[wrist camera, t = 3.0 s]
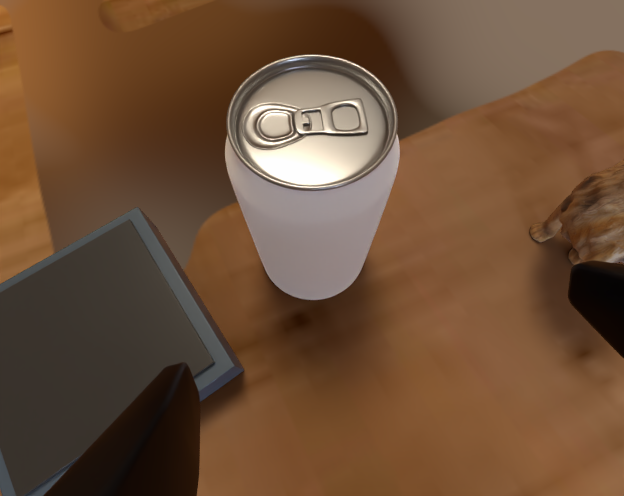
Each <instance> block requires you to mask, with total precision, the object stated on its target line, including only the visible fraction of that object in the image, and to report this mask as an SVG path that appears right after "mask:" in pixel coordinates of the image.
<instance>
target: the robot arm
mask: <svg viewBox="0 0 624 496" xmlns="http://www.w3.org/2000/svg"><path fill="white" fill-rule="evenodd" d="M568 298H569V301H570V303H571V304H572V306H573V307H574V308H575V309H576V310H577V311H578V312H579V313H580V314H581V315H582V316H583V317H584V318H585V319H586V320H587V321H588V322H589V323H590V324H591V326H592V327H593V328H594V329H595V330H596V331H597V332H598V333H599V334H600V335H601V336H602V337H603V338H604V339H605V340H606V341H607V342H608V343H609V344H610V345H611V346H612V347H613V348H614V349H615V350H616V351H617V352H618V353H619V354H620V355H621V356H622V357H623V358H624V264H617V263H609V262H602V261H595V260H591V261H586V262H582V263H578V264H575V265H574V266H573V267H572V269H571V273H570V282H569V290H568ZM199 458H200V395H199V391H198V388H197V386H196V383H195V381H194V378H193V375H192V373H191V370H190V368H189V366H188V365H187V363H185V362H181V363H177V364H173V365H169V366H167V367H165V368H164V369H163V370H162V371H161V372H160V373H159V374H158V375H157V376H156V377H155V378H154V379H153V381H152V382H151V383H150V384H149V385H148V386H147V387H146V388H145V389H144V390H143V391H142V392H141V393H140V394H139V395H138V396H137V397H136V398H135V400H134V401H133V402H132V403H131V404H130V405H129V406H128V407H127V408H126V409H125V410H124V411H123V412H122V413H121V414H120V415H119V416H118V417H117V418H116V420H115V421H114V422H113V423H112V424H111V425H110V426H109V427H108V428H107V429H106V430H105V431H104V432H103V433H102V434H101V435H100V436H99V437H98V439H97V440H96V441H95V442H94V443H93V444H92V445H91V446H90V447H89V448H88V449H87V450H86V451H85V452H84V453H83V454H82V455H81V456H80V457H79V459H78V460H77V461H76V462H75V463H74V464H73V465H72V466H71V467H70V468H69V469H68V470H67V471H66V472H65V473H64V474H63V475H62V476H61V477H60V479H59V480H58V481H57V482H56V483H55V484H54V485H53V486H52V487H51V488H50V489H49V490H48V491H47V492H46V493H45V494H44V495H43V496H197V488H198V478H199Z"/></svg>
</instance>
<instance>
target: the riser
mask: <svg viewBox="0 0 624 496" xmlns="http://www.w3.org/2000/svg"><path fill="white" fill-rule="evenodd" d="M181 362H185V363H187V365H188V366H189V368H190V370H191V373H192V375H193V378H194V381H195V383H196V386H197V388H198V391H199V395H200V402H201V401H202V400H204V399H205V398H207V397H208V396H209V395H211V394H212V393H213V392H215V391H216V390H218V389H219V388H220V387H222V386H223V385H225V384H226V383H227V382H229V381H230V380H231V379H233V378H234V377H236V376H237V375H238V374H240V373H241V372H242V371H244V368H243V367H242V365H241V363H240V362H239V360H238V359H237V357H236V355H235V354H234V352H233V350H232V349H231V347H230V346H229V344H228V342H227V341H226V339H225V337H224V336H223V334H222V333H221V331H220V329H219V328H218V326H217V324H216V323H215V321H214V320H213V318H212V316H211V315H210V313H209V312H208V310H207V308H206V307H205V305H204V303H203V302H202V300H201V299H200V297H199V295H198V294H197V292H196V290H195V289H194V287H193V286H192V284H191V282H190V281H189V279H188V277H187V276H186V274H185V273H184V271H183V269H182V268H181V266H180V265H179V263H178V261H177V260H176V258H175V257H174V255H173V253H172V252H171V250H170V248H169V247H168V245H167V243H166V242H165V240H164V239H163V237H162V235H161V234H160V232H159V231H158V229H157V227H156V226H155V225H154V224H153V223H152V222H151V221H150V220H149V218H148V217H147V216H146V215H145V214H144V213H143V212H142V211H141V210H140V209H139V208H138V207H136V208H134V209H133V210H131V211H129V212H127V213H126V214H124V215H122V216H120V217H119V218H117V219H115V220H113V221H111V222H110V223H108V224H106V225H104V226H102V227H101V228H99V229H97V230H95V231H94V232H92V233H90V234H88V235H87V236H85V237H83V238H81V239H79V240H78V241H76V242H74V243H72V244H71V245H69V246H67V247H65V248H63V249H62V250H60V251H58V252H56V253H55V254H53V255H51V256H49V257H47V258H46V259H44V260H42V261H40V262H39V263H37V264H35V265H33V266H31V267H30V268H28V269H26V270H24V271H23V272H21V273H19V274H17V275H16V276H14V277H12V278H10V279H8V280H7V281H5V282H3V283H1V284H0V489H1V493H2V496H43V495H44V494H45V493H46V492H47V491H48V490H49V489H50V488H51V487H52V486H53V485H54V484H55V483H56V482H57V481H58V480H59V479H60V477H61V476H62V475H63V474H64V473H65V472H66V471H67V470H68V469H69V468H70V467H71V466H72V465H73V464H74V463H75V462H76V461H77V460H78V459H79V457H80V456H81V455H82V454H83V453H84V452H85V451H86V450H87V449H88V448H89V447H90V446H91V445H92V444H93V443H94V442H95V441H96V440H97V439H98V437H99V436H100V435H101V434H102V433H103V432H104V431H105V430H106V429H107V428H108V427H109V426H110V425H111V424H112V423H113V422H114V421H115V420H116V418H117V417H118V416H119V415H120V414H121V413H122V412H123V411H124V410H125V409H126V408H127V407H128V406H129V405H130V404H131V403H132V402H133V401H134V400H135V398H136V397H137V396H138V395H139V394H140V393H141V392H142V391H143V390H144V389H145V388H146V387H147V386H148V385H149V384H150V383H151V382H152V381H153V379H154V378H155V377H156V376H157V375H158V374H159V373H160V372H161V371H162V370H163V369H164V368H165V367H167V366H169V365H173V364H177V363H181Z"/></svg>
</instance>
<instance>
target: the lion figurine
mask: <svg viewBox="0 0 624 496" xmlns="http://www.w3.org/2000/svg"><path fill="white" fill-rule="evenodd" d="M561 227H562V229H561V232H560V233H561V235H562V236H563V238H566V239H567V240H568V241H569V242H571V244H572V246H573V248H572V250H571V251H570V252H569V260H570V261H571V263H572V264H574V265H575V264H578V263H582V262H586V261H591V260H595V261H602V262H609V263H617V262H622V263H623V264H624V160H622V161H621V162H619V163H618V164H616V165H615V166H614V167H612V168H608V169H605V170H603V171H601V172H598V173H594V174H591V175H590V176H589V177H587V178H586V179H585V180H584V181H582V182H581V183H580V184H579V185H578V186H576V188H575V189H574V190H573V191H572V194H571V195H570V196H568V197H567V198H566V199H565V200H564V201H563V202H562V203H561V204H560V205H559V206H558V208H557V209H556V210H555V211H554V212H553V213H552V214H551V215H550V217H549V218H548V219H547V220H546V221H545V222H542V223H537V224H534V225H532V226H531V227H530V234H531V236H532V238H533V239H535V240H537V241H538V242H543V241H545V240H547V239H548V238H552V237H553V236H555V234H556V233H557V231H558V230H559V229H560V228H561Z"/></svg>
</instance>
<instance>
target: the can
mask: <svg viewBox="0 0 624 496" xmlns="http://www.w3.org/2000/svg"><path fill="white" fill-rule="evenodd" d="M226 127H227V134H228V135H227V139H226V147H225V159H226V165H227V170H228V174H229V177H230V180H231V183H232V186H233V189H234V192H235V194H236V197H237V200H238V202H239V205H240V207H241V210H242V213H243V215H244V218H245V220H246V223H247V226H248V228H249V231H250V233H251V236H252V238H253V241H254V244H255V246H256V249H257V251H258V254H259V256H260V259H261V261H262V264H263V266H264V268H265V270H266V273H267V274H268V276H269V278H270V279H271V280H272V282H273V283H274V284H275V285H276V286H277V287H278V288H280V289H281V290H282V291H284V292H285V293H287V294H289V295H291V296H294V297H297V298H300V299H306V300H320V299H326V298H329V297H332V296H335V295H337V294H339V293H341V292H342V291H344V290H345V289H347V288H348V287H349V286H350V285H351V284H352V283H353V282H354V281H355V279H356V278H357V276H358V275H359V273H360V271H361V269H362V267H363V264H364V262H365V259H366V257H367V254H368V251H369V249H370V246H371V243H372V241H373V238H374V235H375V233H376V230H377V227H378V225H379V222H380V219H381V216H382V214H383V211H384V208H385V205H386V203H387V200H388V197H389V194H390V191H391V189H392V186H393V183H394V180H395V176H396V173H397V169H398V164H399V156H400V148H399V140H398V136H397V129H398V115H397V110H396V106H395V103H394V101H393V98H392V96H391V94H390V93H389V91H388V90H387V88H386V87H385V86H384V84H383V83H382V82H381V81H380V80H379V79H378V78H377V77H376V76H375V75H373V74H372V73H371V72H369V71H368V70H366V69H365V68H363V67H361V66H360V65H357V64H355V63H353V62H351V61H348V60H345V59H342V58H338V57H334V56H328V55H317V54H316V55H315V54H309V55H297V56H291V57H287V58H284V59H280V60H277V61H275V62H272V63H270V64H267V65H266V66H264V67H262V68H260V69H259V70H257V71H256V72H254V73H253V74H252V75H250V76H249V77H248V78H247V79H246V80H245V81H244V82H243V83H242V84H241V85H240V86H239V88H238V89H237V91H236V92H235V94H234V96H233V98H232V100H231V102H230V104H229V108H228V112H227V120H226Z"/></svg>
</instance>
